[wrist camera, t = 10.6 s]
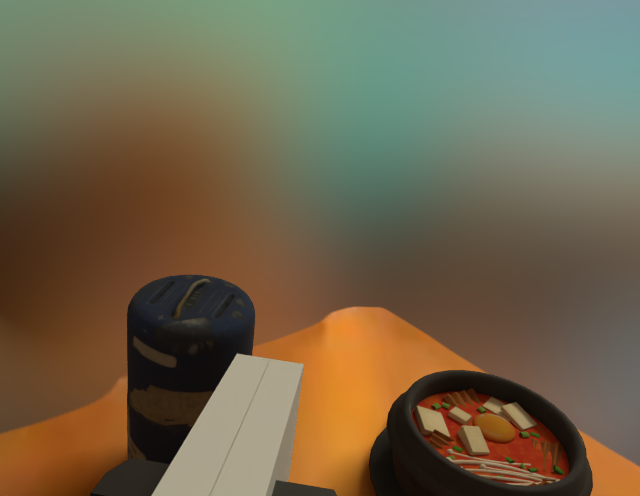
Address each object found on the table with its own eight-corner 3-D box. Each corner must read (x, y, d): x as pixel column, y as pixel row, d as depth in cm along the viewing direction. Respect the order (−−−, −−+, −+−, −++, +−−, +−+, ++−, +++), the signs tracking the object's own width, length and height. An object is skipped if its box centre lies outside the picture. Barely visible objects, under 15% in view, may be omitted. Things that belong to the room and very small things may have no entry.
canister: (261, 460, 53) (282, 281, 46) (197, 536, 45) (210, 333, 38) (175, 419, 56) (182, 247, 49) (101, 483, 48) (97, 288, 41)
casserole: (631, 660, 41) (675, 575, 37) (362, 613, 41) (383, 525, 38) (538, 422, 64) (561, 356, 60) (367, 394, 64) (380, 327, 61)
